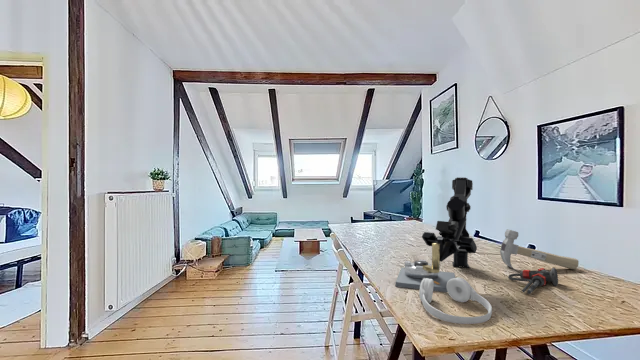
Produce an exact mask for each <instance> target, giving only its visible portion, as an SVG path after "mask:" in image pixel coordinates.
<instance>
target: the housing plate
mask: <svg viewBox="0 0 640 360" xmlns="http://www.w3.org/2000/svg"><path fill="white" fill-rule="evenodd" d="M399 270H400V271H399V272H398V275H397V278H396V280H395V287H400V288H408V289H415V290H416V289H417V290H420V285H421V281H422V280H423V279H416V278H412V277H409V276H407V275H405V267H401V268H400V269H399ZM453 278H456V273H455V272H451V271H442V270H441V271H440V270H439V273H438V277H437V278H435V279H433V281H434V287H433V292H441V293H448V292H447V287H446V286H447V282H448V281H449V280H450V279H453Z"/></svg>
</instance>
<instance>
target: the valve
mask: <svg viewBox="0 0 640 360" xmlns="http://www.w3.org/2000/svg"><path fill="white" fill-rule="evenodd" d="M507 277H508V279H509V280H511V281H516V282H517V281H518V282H527V283H526V285H525V286H524V287H523V288H522V289H521V293H527V294H529V295H531V294H532V293H533V292H534V291H535V289H536V288H538V287H540V286H541V287H543V286H546V284H547V282H549V283H551V284H553V286H554V287H557V286H559V285H558V284H559V276H558V271H557V268H556V267H552V268H551V269H550V271H548V270H547V269H545V268H544V267H540V268H537V270H531V269H523V270H520V271H519V272H518V273H511V274H509V275H508V276H507ZM519 277H520V278H519Z"/></svg>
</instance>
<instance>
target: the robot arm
mask: <svg viewBox="0 0 640 360" xmlns="http://www.w3.org/2000/svg"><path fill="white" fill-rule="evenodd" d="M473 183H474V182H473V180H472V179H468V177H455V179H453V180H451V189H452V190H453V192H454V193H453V195H452V196H451V197H449V198H450V199H449V201H448V202H447V204H446V211H447V213H448V217H449V219H448V221H444V220H437V222H436V225H435V230H436V231H438V235H437V236H436V234H435V232H429V231H425V232H423V233H422V236H421V238H422V239H423V241H424V243H425V244H426V246H427V247H432V243H439V244H440V263H441V262H443V261H445V260H447V258H449V257H451V256H452V255H453V261H452V263H451V264H452V267H454V268H467V269H469V268H470V265H469V261H468V260H469V259H468V258H469V255H468V254H476V252H477V250H478V245H477V244H476V242H475V240H474V239H473V238H474V237H470V233H469V232H468V230H467V215H468V213H469V212H470V210H471V208H472V207H471V206H472V205H470V203H469V202H468V199H469V197H470V196H471V195H472V194H471V193H472V191H473V189H474V187H473V185H474V184H473Z"/></svg>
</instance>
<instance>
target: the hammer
mask: <svg viewBox="0 0 640 360" xmlns="http://www.w3.org/2000/svg"><path fill="white" fill-rule="evenodd" d="M504 237H505V238H504V239H503V241H502V243H501V247H500V251H499V253H500V257H501V260H502V263H504V264H505V265H507V267H509V268H511V269H512V268H513V269H514V267H513V265H512V264H511V263H512V262H511V255H520V256H522V257H523V256H524V257H527V258H530V259H534V260H538V261H539V262H542V263H543V262H544V263H547V264H549V265H554V266H559V267H562V268H566V269H569V270H575V271H576V270H577V269H578V267H579V262H580V261H579V259H577V258H575V257H569V256H562V255H558V254H554V253H549V252H546V251H542V250H538V249H533V248H529V247H524V246H520V245H518V244H516V243H514V242H515V241H516V240H517V239H518V237H519V232H518V231H516V230H512V229H506V230H505V231H504Z"/></svg>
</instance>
